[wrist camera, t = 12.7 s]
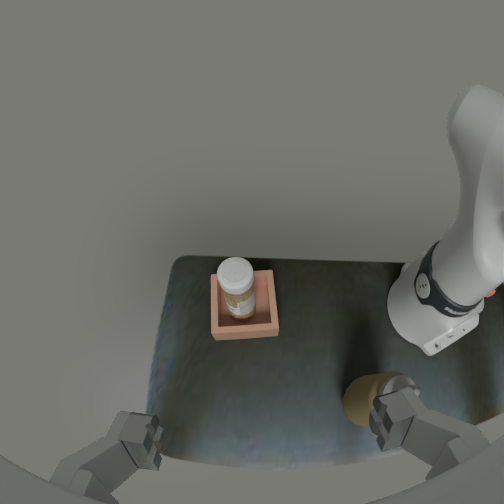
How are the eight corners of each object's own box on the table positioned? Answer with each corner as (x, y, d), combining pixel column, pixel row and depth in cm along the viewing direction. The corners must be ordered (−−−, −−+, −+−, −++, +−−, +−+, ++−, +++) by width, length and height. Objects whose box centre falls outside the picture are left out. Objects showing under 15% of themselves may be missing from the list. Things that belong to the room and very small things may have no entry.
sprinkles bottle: (224, 305, 46) (210, 265, 35) (248, 293, 47) (242, 249, 36) (237, 327, 44) (226, 294, 33) (261, 314, 45) (260, 277, 34)
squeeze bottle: (392, 402, 36) (457, 389, 20) (355, 435, 34) (409, 444, 18) (364, 367, 39) (418, 338, 24) (326, 399, 37) (365, 390, 22)
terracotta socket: (271, 280, 49) (272, 269, 45) (277, 335, 43) (279, 328, 40) (214, 285, 49) (211, 274, 45) (215, 340, 43) (211, 333, 40)
